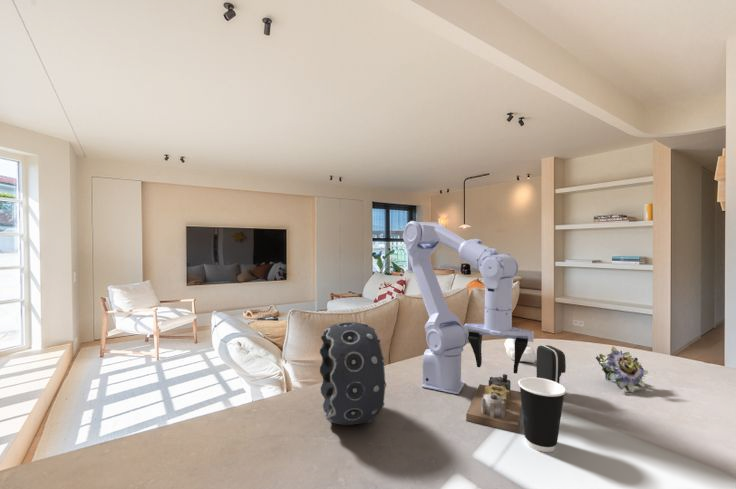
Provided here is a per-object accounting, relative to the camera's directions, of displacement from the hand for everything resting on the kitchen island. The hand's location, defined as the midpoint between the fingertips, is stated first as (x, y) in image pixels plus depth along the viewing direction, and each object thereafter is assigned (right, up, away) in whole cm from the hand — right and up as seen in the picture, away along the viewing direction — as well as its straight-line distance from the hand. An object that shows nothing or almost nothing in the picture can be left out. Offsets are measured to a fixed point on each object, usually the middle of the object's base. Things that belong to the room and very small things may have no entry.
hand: (496, 368), depth 79 cm
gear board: (0, -9, 0) cm, 9 cm away
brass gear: (0, -7, 0) cm, 7 cm away
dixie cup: (+3, -9, -14) cm, 17 cm away
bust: (+19, -9, +33) cm, 39 cm away
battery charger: (+16, -9, +9) cm, 21 cm away
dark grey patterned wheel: (-33, -9, -5) cm, 34 cm away
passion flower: (+37, -10, +14) cm, 41 cm away
